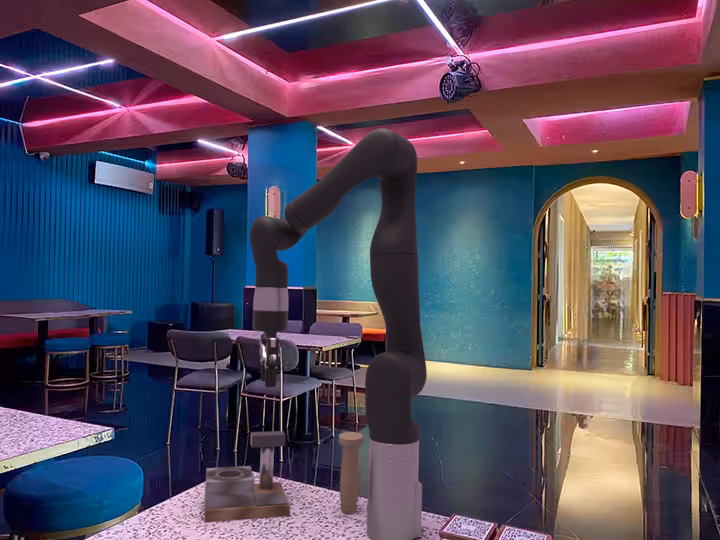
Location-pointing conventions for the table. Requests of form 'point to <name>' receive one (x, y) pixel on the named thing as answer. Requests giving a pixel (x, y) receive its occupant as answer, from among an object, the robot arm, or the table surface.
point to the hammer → (267, 454)
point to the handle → (350, 470)
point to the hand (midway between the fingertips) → (268, 384)
